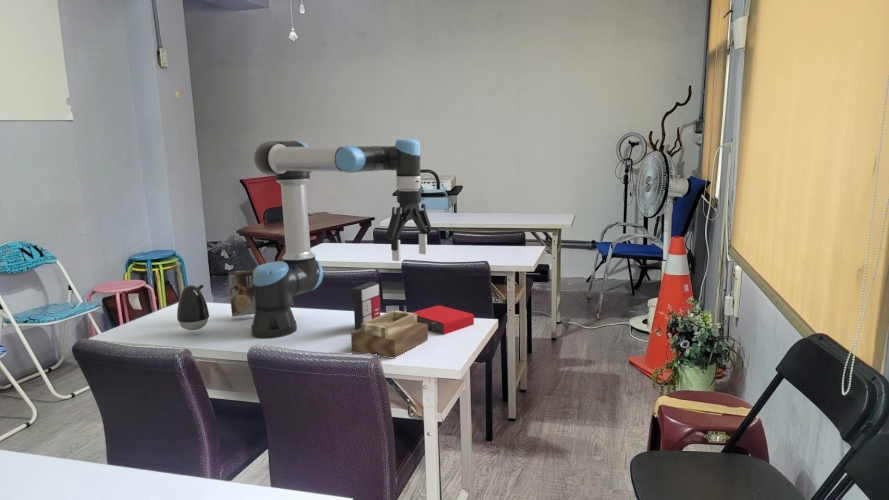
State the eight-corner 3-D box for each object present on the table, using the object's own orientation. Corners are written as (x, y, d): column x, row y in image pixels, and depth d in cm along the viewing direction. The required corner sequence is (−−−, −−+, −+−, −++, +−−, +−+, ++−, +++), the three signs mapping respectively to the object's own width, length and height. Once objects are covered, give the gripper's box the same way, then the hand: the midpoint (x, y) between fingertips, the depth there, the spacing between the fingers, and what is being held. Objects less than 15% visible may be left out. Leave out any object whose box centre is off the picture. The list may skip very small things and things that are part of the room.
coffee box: (256, 310, 228) (253, 269, 226) (257, 314, 223) (254, 272, 220) (231, 312, 225) (227, 271, 222) (231, 317, 219) (228, 274, 217)
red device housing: (408, 326, 206) (407, 312, 205) (437, 318, 215) (437, 304, 214) (444, 338, 193) (443, 323, 192) (473, 328, 203) (473, 314, 202)
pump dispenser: (216, 325, 209) (213, 283, 207) (193, 333, 200) (189, 289, 197) (195, 322, 213) (191, 281, 211) (171, 330, 204) (167, 287, 202)
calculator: (363, 333, 198) (362, 289, 195) (353, 332, 200) (351, 288, 197) (382, 324, 207) (380, 282, 205) (371, 323, 209) (370, 281, 207)
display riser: (351, 351, 180) (350, 322, 179) (386, 334, 196) (385, 308, 194) (395, 360, 172) (394, 330, 171) (427, 342, 188) (427, 314, 186)
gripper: (392, 193, 172) (394, 265, 176) (441, 187, 192) (442, 252, 196) (372, 192, 176) (374, 262, 180) (423, 187, 196) (424, 250, 200)
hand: (410, 257), depth 188 cm, fingers open, 13 cm apart
